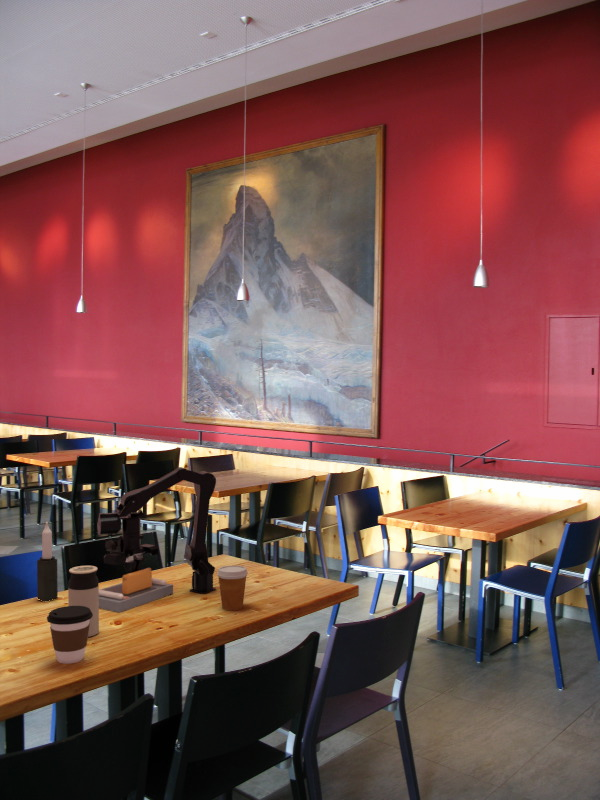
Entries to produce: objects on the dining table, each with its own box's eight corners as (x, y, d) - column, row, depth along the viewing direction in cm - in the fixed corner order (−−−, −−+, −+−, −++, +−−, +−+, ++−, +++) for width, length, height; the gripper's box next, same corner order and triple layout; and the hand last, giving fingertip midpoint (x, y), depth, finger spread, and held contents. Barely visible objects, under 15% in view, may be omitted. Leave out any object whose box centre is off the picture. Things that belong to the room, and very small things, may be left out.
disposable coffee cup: (210, 609, 226) (210, 570, 225) (228, 601, 234) (227, 563, 234) (237, 613, 221) (237, 573, 221) (253, 605, 230) (253, 567, 229)
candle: (45, 602, 233) (44, 523, 233) (35, 599, 236) (35, 521, 236) (59, 598, 237) (58, 521, 237) (49, 596, 241) (49, 519, 240)
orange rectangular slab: (151, 586, 239) (151, 568, 239) (126, 594, 230) (126, 575, 230) (147, 585, 240) (147, 567, 240) (122, 593, 231) (122, 574, 231)
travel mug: (104, 633, 203) (103, 568, 203) (77, 640, 198) (76, 573, 198) (89, 627, 209) (89, 563, 209) (63, 633, 204) (63, 568, 203)
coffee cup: (55, 670, 177) (54, 621, 177) (41, 657, 186) (41, 610, 185) (99, 660, 183) (99, 612, 183) (84, 648, 192) (83, 602, 192)
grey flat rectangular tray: (173, 593, 243) (173, 579, 243) (119, 612, 223) (119, 596, 223) (137, 586, 252) (137, 572, 251) (82, 604, 231) (82, 589, 231)
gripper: (134, 525, 248) (134, 571, 249) (91, 534, 233) (91, 584, 233) (158, 528, 242) (159, 576, 243) (116, 538, 227) (116, 589, 227)
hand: (131, 581), depth 236 cm, fingers closed, pressing on orange rectangular slab
